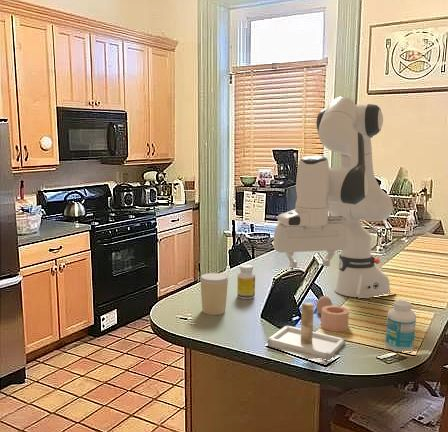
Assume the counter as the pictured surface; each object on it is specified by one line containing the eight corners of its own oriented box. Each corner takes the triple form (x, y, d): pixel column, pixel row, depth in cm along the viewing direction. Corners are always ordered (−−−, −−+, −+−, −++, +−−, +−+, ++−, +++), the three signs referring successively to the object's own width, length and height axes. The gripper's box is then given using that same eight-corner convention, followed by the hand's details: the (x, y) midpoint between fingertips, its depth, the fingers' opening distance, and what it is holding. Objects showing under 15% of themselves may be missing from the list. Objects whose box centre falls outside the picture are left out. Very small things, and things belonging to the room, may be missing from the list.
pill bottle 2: (380, 344, 142) (383, 298, 140) (406, 343, 143) (409, 298, 141) (391, 355, 135) (395, 307, 133) (418, 354, 135) (422, 307, 133)
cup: (341, 323, 158) (342, 304, 157) (352, 332, 150) (353, 313, 149) (317, 324, 156) (317, 306, 155) (326, 334, 148) (327, 315, 147)
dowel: (309, 339, 142) (311, 302, 140) (313, 344, 139) (315, 306, 137) (299, 340, 141) (300, 302, 139) (302, 344, 138) (304, 306, 136)
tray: (344, 346, 140) (344, 338, 140) (328, 362, 130) (329, 354, 130) (286, 332, 150) (286, 325, 149) (267, 345, 140) (267, 338, 139)
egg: (319, 312, 167) (320, 292, 166) (334, 315, 165) (335, 295, 164) (313, 316, 163) (314, 296, 162) (328, 319, 160) (329, 299, 159)
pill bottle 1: (253, 300, 179) (254, 268, 177) (235, 298, 180) (236, 267, 178) (255, 294, 185) (256, 264, 183) (238, 293, 186) (239, 263, 184)
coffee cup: (231, 308, 170) (232, 274, 168) (222, 317, 161) (222, 281, 160) (205, 304, 173) (206, 271, 171) (195, 313, 164) (195, 278, 163)
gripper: (343, 213, 139) (340, 262, 141) (272, 215, 135) (271, 265, 138) (352, 217, 133) (350, 268, 135) (278, 219, 129) (277, 271, 132)
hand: (309, 266), depth 136 cm, fingers open, 8 cm apart
